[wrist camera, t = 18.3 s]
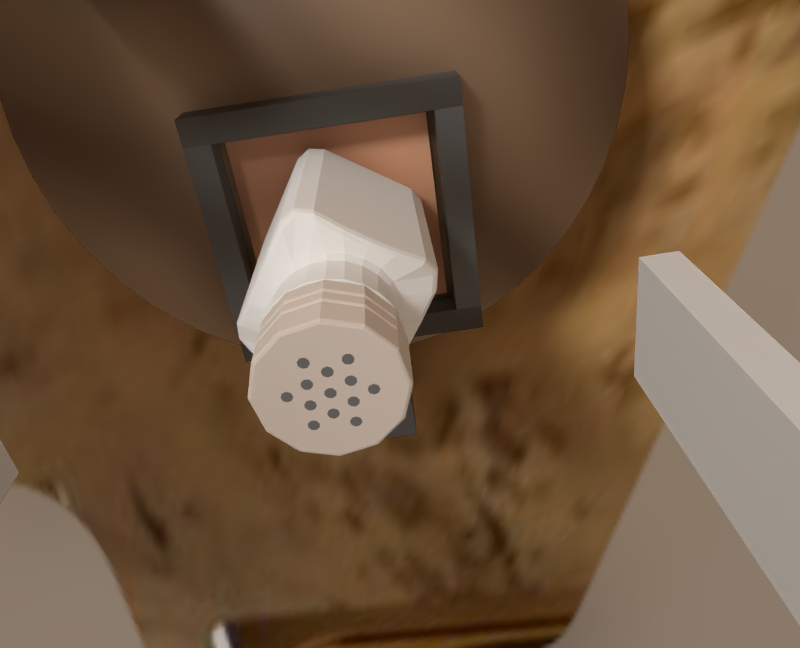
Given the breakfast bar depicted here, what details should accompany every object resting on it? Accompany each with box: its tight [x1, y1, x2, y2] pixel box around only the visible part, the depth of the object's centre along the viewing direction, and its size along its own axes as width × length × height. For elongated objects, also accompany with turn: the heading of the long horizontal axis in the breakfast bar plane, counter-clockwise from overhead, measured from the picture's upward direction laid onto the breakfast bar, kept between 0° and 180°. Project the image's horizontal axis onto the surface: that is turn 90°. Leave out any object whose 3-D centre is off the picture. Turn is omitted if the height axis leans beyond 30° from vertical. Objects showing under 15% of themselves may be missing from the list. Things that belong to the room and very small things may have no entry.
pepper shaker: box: [237, 149, 438, 456], centre depth 17 cm, size 4×4×10 cm
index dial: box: [0, 0, 629, 362], centre depth 18 cm, size 18×18×8 cm
